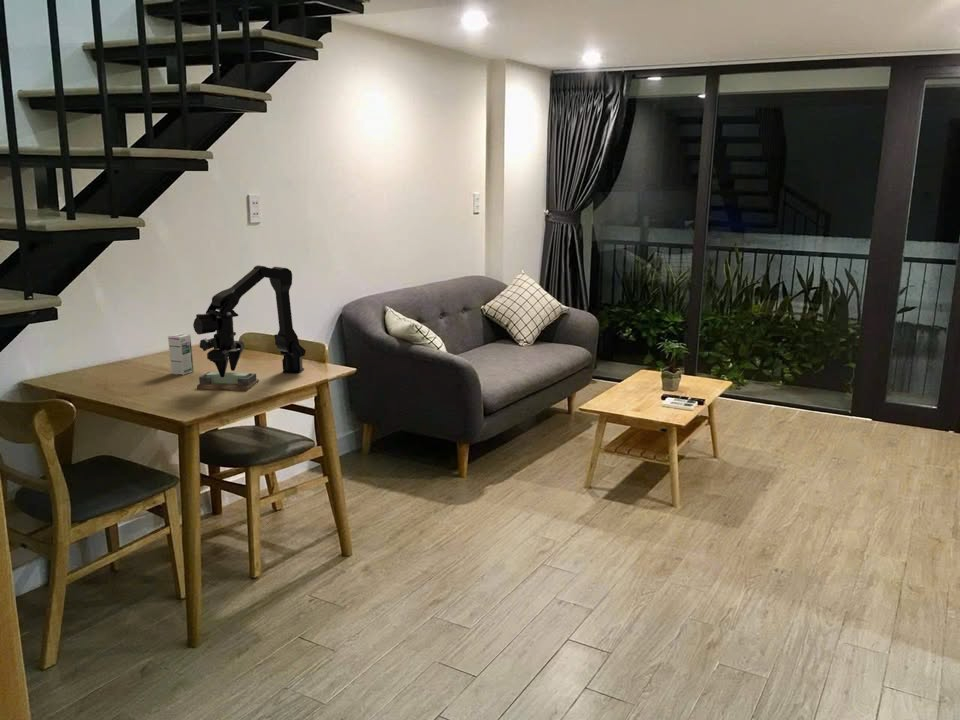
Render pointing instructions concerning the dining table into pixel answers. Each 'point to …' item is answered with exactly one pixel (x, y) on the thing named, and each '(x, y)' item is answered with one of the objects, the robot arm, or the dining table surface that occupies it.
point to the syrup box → (180, 353)
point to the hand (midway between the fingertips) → (227, 373)
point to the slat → (226, 377)
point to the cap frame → (242, 383)
